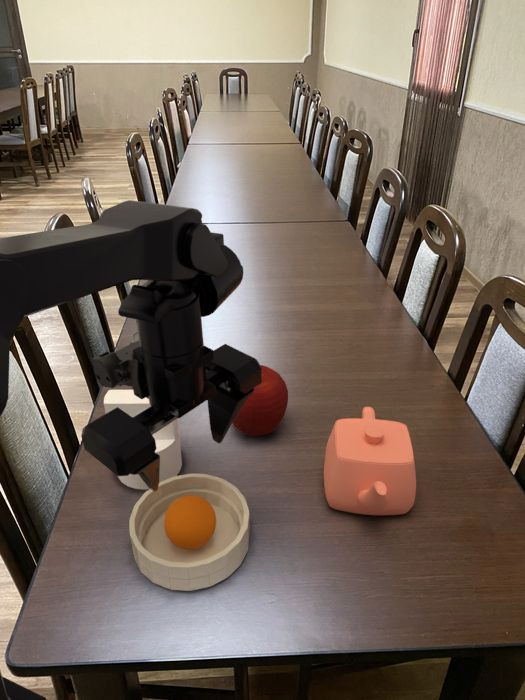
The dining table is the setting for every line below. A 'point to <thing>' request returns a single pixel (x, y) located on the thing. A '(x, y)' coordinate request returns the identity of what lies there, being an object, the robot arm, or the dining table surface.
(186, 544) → the orange
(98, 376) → the robot arm
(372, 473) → the teapot
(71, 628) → the dining table surface
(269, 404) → the apple
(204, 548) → the bowl
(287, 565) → the dining table surface
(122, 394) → the cylinder with rectangular tab
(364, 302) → the dining table surface
